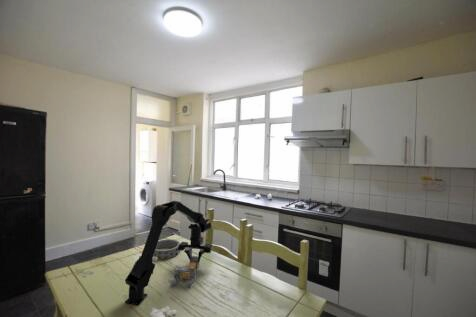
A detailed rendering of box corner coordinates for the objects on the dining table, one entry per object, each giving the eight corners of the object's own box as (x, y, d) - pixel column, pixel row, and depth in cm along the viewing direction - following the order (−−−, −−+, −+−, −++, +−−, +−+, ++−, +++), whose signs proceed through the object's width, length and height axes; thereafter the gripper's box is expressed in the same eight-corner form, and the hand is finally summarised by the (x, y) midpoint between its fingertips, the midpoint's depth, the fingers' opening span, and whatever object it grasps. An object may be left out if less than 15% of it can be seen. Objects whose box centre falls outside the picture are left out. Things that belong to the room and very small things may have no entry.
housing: (191, 287, 101) (191, 275, 101) (170, 285, 102) (171, 273, 102) (195, 279, 107) (195, 269, 107) (176, 277, 109) (176, 267, 108)
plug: (189, 279, 108) (190, 271, 108) (181, 278, 108) (182, 270, 108) (199, 263, 124) (199, 256, 124) (192, 262, 124) (192, 256, 124)
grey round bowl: (172, 260, 126) (172, 252, 126) (144, 257, 129) (144, 249, 129) (184, 247, 144) (185, 240, 144) (159, 245, 147) (159, 238, 147)
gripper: (215, 231, 129) (214, 257, 129) (185, 228, 131) (184, 254, 131) (210, 238, 118) (209, 266, 118) (177, 235, 120) (177, 263, 120)
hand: (195, 262), depth 122 cm, fingers closed on plug, 4 cm apart
